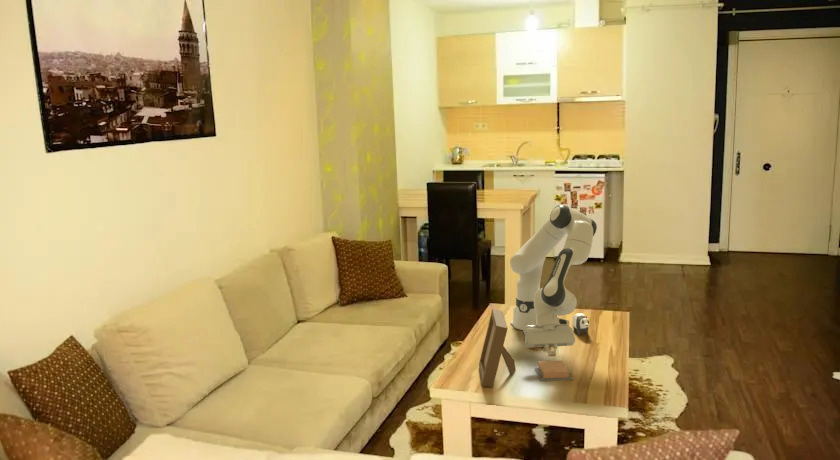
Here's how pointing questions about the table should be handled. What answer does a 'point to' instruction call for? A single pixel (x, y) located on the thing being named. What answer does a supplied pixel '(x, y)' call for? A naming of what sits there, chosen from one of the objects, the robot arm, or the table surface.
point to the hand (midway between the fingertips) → (552, 355)
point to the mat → (551, 378)
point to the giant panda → (580, 323)
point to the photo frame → (494, 349)
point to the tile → (553, 369)
